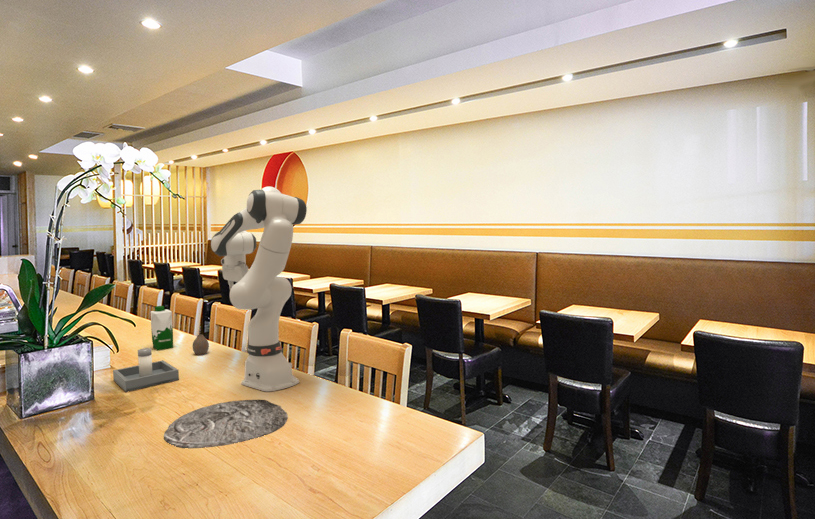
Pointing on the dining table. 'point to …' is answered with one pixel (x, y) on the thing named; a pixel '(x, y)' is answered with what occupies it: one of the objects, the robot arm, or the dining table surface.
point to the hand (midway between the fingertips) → (236, 291)
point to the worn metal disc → (225, 424)
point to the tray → (132, 381)
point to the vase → (200, 345)
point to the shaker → (145, 362)
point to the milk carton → (161, 328)
